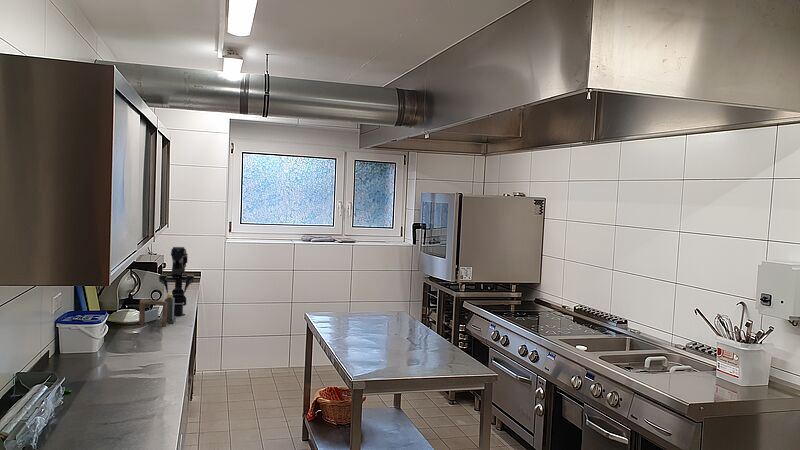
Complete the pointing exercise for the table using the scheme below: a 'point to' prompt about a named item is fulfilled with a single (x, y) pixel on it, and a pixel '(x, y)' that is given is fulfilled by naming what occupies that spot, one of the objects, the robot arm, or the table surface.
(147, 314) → the door
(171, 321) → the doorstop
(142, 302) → the door frame
